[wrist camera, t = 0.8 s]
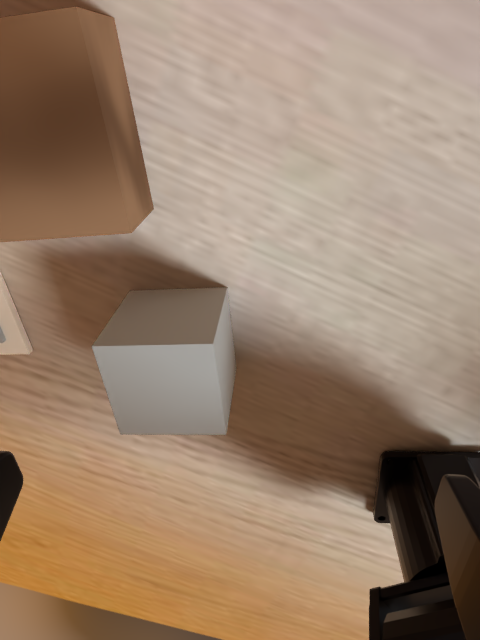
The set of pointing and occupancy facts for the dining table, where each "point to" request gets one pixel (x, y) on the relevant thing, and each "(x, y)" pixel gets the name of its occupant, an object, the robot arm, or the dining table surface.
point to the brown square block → (67, 129)
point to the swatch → (11, 326)
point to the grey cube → (169, 362)
